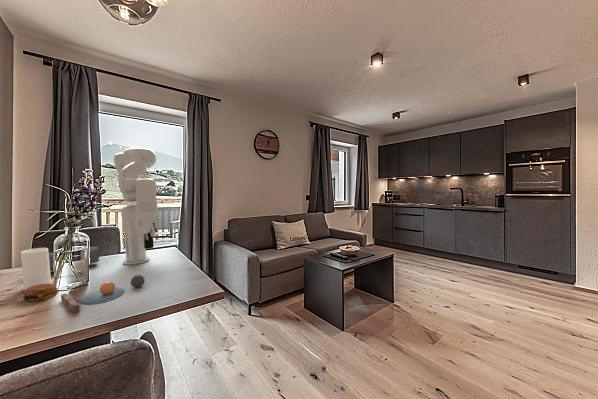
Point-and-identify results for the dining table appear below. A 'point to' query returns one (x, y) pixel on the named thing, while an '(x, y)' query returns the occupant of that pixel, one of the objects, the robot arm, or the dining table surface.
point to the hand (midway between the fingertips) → (149, 248)
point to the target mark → (101, 297)
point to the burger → (40, 292)
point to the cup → (35, 267)
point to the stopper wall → (70, 303)
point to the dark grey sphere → (137, 281)
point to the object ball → (107, 288)
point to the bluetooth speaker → (93, 257)
